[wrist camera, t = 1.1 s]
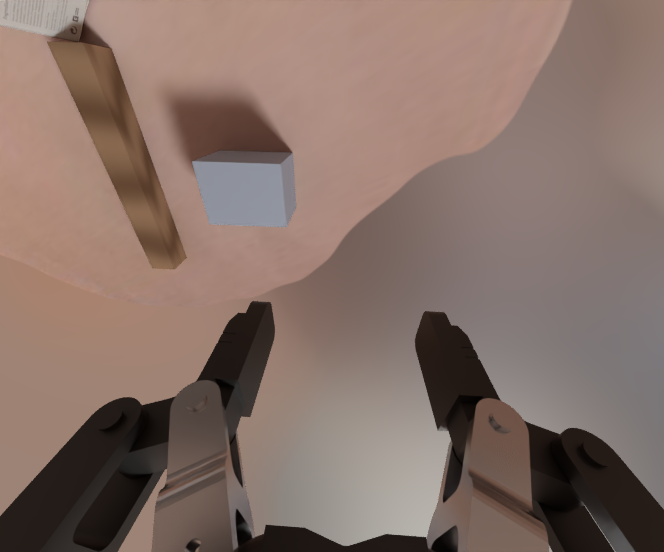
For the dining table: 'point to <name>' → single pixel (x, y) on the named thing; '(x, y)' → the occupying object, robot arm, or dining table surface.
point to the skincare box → (45, 17)
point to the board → (120, 146)
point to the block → (247, 187)
